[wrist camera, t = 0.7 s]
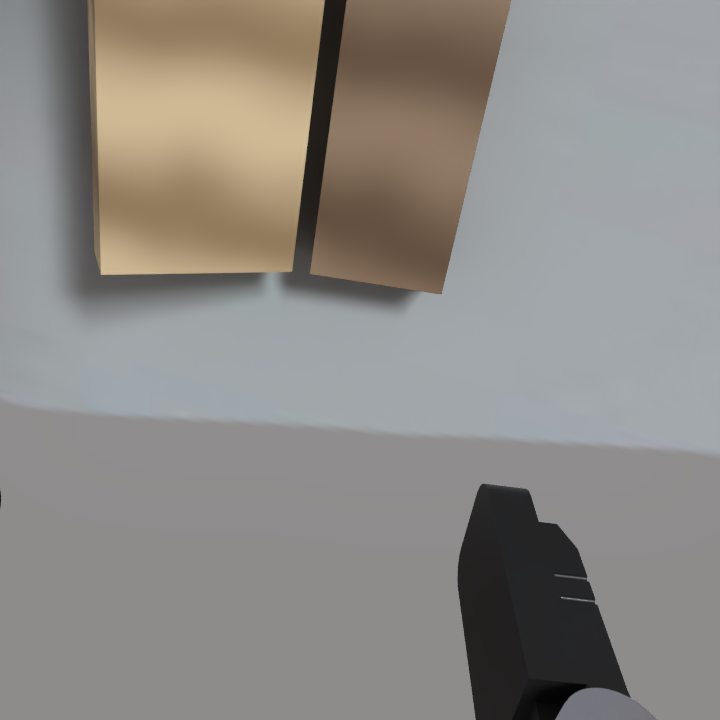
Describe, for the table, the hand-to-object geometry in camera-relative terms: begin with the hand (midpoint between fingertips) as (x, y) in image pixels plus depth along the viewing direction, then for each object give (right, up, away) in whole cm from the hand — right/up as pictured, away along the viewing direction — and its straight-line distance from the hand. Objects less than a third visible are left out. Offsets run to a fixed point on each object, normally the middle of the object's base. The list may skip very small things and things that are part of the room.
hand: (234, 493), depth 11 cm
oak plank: (-4, +16, +14) cm, 22 cm away
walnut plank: (+4, +15, +17) cm, 23 cm away
